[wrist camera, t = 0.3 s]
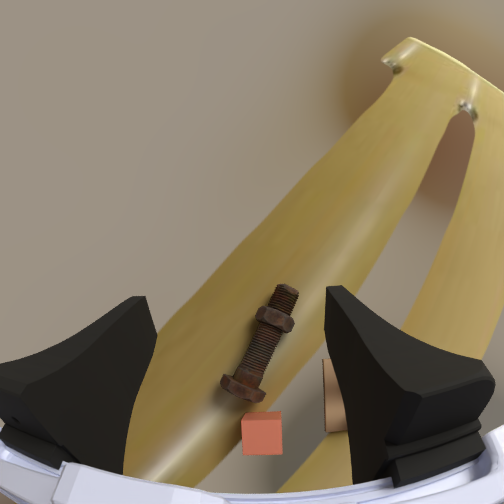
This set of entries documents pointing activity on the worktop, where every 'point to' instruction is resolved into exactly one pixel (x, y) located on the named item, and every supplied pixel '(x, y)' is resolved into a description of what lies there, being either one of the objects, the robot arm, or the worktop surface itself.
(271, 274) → the worktop surface
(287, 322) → the bolt
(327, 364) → the stub block
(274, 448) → the salmon cube
